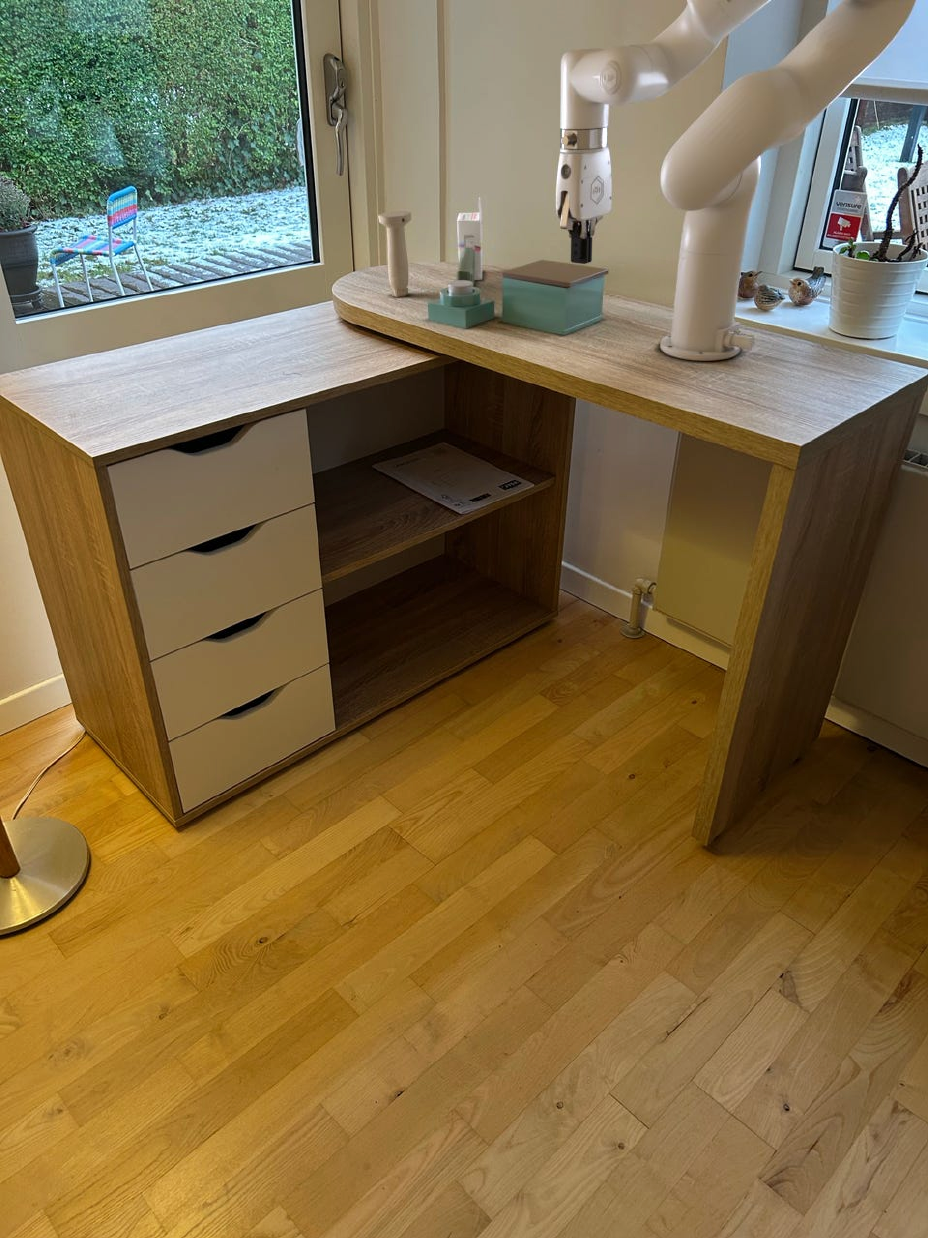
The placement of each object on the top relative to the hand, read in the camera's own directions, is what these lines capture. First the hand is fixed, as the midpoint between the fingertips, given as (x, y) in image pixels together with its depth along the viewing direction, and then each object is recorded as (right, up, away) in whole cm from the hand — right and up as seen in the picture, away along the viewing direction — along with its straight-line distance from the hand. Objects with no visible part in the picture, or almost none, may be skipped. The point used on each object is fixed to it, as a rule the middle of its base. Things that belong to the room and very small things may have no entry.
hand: (581, 261), depth 154 cm
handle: (-33, +4, +27) cm, 42 cm away
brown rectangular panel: (-4, -1, +5) cm, 6 cm away
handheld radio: (-19, +5, +29) cm, 35 cm away
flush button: (-20, -2, +9) cm, 22 cm away
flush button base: (-20, -6, +12) cm, 24 cm away
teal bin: (-4, -7, +9) cm, 12 cm away
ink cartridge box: (-18, +12, +38) cm, 44 cm away
